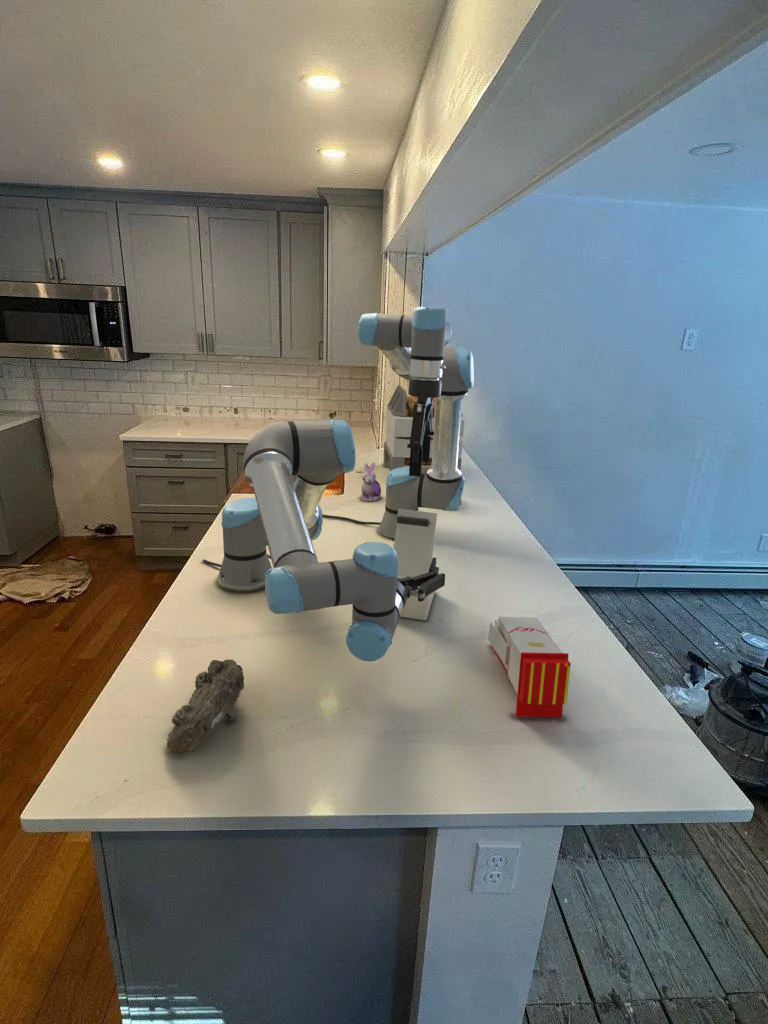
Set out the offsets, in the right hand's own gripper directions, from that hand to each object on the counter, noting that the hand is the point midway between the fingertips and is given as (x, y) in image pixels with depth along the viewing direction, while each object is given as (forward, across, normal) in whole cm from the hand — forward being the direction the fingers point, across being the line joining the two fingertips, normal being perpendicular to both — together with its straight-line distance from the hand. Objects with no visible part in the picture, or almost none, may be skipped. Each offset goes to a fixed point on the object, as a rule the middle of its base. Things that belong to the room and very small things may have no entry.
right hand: (419, 468), depth 137 cm
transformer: (+39, +132, +18) cm, 139 cm away
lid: (+19, -1, 0) cm, 19 cm away
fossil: (+39, -51, +30) cm, 71 cm away
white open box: (+39, +4, 0) cm, 39 cm away
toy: (+39, -22, -28) cm, 53 cm away
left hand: (+18, -15, 0) cm, 23 cm away
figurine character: (+39, +89, -2) cm, 97 cm away
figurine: (+39, +86, +32) cm, 100 cm away
